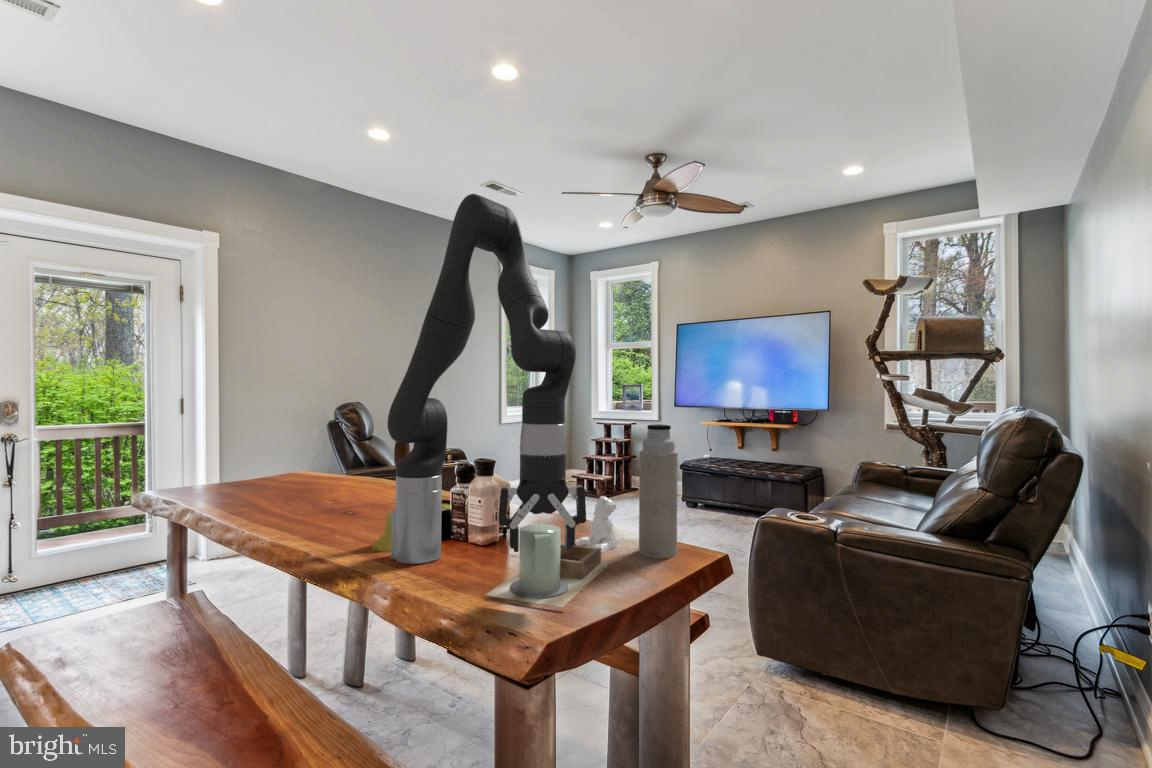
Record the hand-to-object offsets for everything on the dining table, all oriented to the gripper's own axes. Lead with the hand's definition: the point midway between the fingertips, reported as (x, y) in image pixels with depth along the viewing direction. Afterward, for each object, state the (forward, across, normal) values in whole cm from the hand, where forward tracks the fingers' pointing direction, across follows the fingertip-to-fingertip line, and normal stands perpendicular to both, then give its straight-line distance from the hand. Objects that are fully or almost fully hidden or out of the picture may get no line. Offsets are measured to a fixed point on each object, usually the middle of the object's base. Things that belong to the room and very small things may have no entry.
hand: (541, 549), depth 93 cm
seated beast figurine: (+9, -15, -30) cm, 35 cm away
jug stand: (+9, -3, -10) cm, 14 cm away
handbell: (+9, +28, -40) cm, 50 cm away
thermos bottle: (+9, -27, -23) cm, 36 cm away
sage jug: (+8, 0, -3) cm, 8 cm away
